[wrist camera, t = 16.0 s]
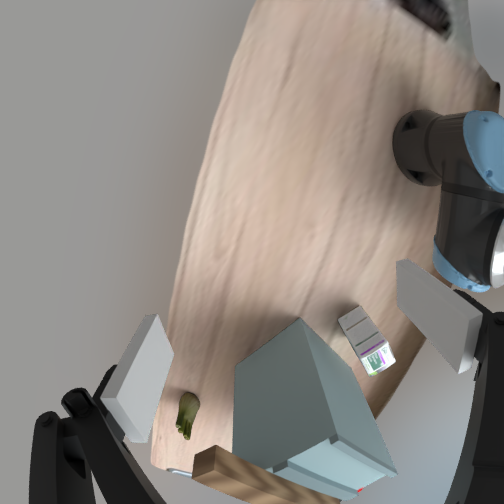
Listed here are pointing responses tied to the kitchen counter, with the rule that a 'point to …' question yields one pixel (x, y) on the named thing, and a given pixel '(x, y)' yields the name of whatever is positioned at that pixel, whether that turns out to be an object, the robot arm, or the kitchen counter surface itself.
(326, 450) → the grey-blue storage bin
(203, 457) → the walnut slat
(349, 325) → the syrup box
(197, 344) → the kitchen counter surface
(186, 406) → the fennel bulb
